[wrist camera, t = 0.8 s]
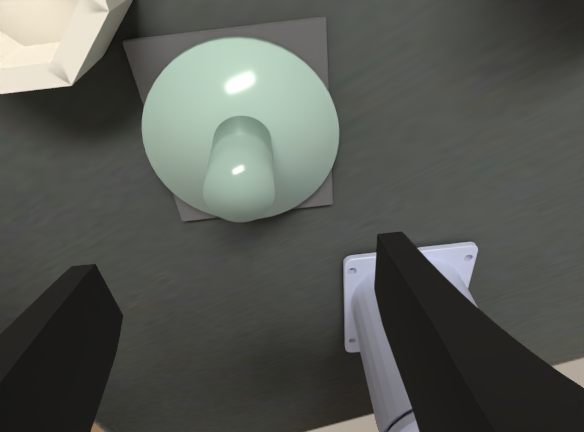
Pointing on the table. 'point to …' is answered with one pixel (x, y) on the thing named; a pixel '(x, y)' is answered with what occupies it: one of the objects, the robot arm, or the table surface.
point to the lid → (240, 128)
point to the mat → (291, 34)
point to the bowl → (54, 40)
